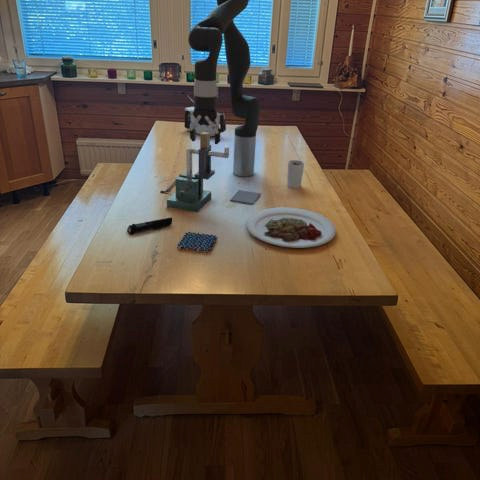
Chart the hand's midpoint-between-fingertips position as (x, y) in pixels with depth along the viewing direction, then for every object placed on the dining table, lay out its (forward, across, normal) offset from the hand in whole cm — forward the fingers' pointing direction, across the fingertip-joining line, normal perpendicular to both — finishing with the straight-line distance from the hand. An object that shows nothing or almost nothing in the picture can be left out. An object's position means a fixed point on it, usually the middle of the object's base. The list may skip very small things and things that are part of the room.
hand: (205, 142), depth 157 cm
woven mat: (+24, -9, +29) cm, 39 cm away
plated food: (+24, -34, +8) cm, 42 cm away
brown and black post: (+12, 0, 0) cm, 12 cm away
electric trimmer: (+24, +10, +25) cm, 36 cm away
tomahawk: (+24, +18, -15) cm, 34 cm away
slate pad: (+24, -12, -13) cm, 30 cm away
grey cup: (+24, -27, -34) cm, 50 cm away
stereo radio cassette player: (+24, +39, -96) cm, 106 cm away
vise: (+24, +2, +1) cm, 24 cm away
